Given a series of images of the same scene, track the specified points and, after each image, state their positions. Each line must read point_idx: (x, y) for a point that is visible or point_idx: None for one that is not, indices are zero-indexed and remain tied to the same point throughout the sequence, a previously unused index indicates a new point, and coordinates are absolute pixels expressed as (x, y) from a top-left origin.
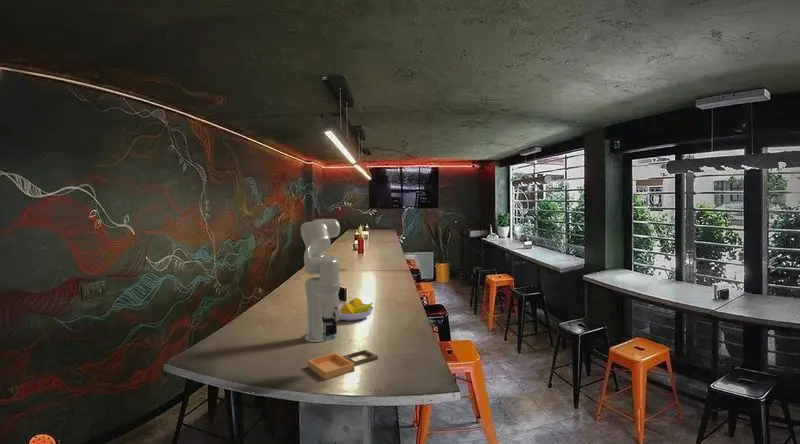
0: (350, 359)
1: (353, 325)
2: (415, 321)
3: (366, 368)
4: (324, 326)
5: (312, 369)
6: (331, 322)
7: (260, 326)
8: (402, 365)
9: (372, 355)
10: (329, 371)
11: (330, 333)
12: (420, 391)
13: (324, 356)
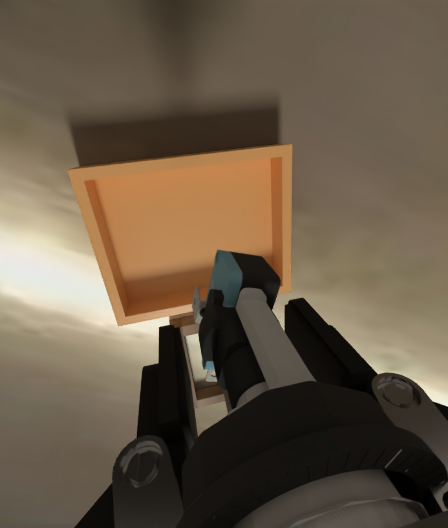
0: None
1: None
2: None
3: (125, 350)
4: (261, 344)
5: (229, 149)
6: (114, 516)
7: None
8: (92, 446)
9: (207, 396)
10: (76, 195)
11: (160, 340)
12: None
13: (282, 236)
